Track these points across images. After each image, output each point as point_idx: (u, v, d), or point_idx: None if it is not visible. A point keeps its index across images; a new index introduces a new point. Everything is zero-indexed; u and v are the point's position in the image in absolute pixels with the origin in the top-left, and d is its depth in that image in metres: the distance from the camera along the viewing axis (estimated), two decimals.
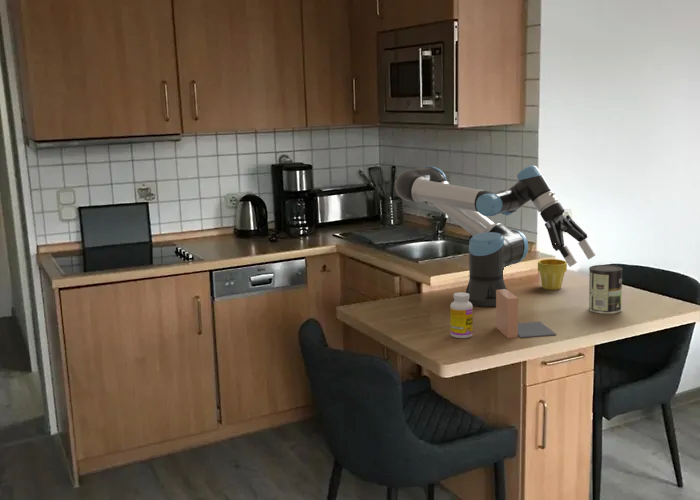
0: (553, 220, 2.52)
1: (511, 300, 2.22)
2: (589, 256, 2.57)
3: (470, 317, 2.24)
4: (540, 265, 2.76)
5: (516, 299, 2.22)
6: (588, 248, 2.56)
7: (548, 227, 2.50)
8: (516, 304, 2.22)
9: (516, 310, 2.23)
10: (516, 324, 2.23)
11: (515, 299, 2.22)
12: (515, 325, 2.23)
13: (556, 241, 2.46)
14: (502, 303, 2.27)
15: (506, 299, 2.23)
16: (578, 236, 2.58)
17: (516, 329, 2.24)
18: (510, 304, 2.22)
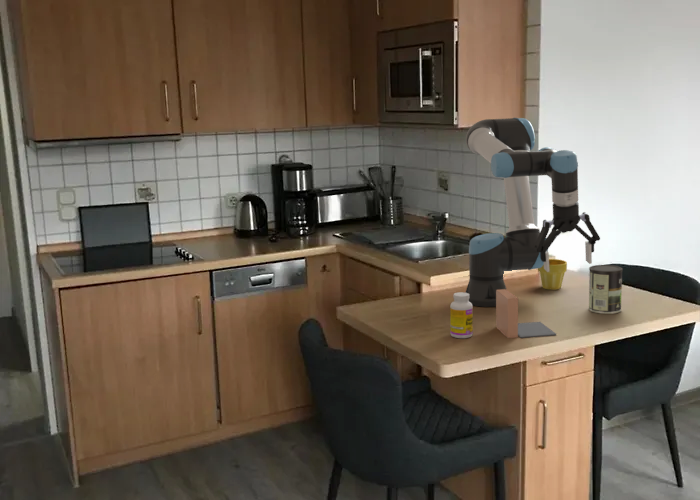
0: (554, 221, 2.29)
1: (511, 300, 2.22)
2: (586, 259, 2.36)
3: (470, 317, 2.24)
4: None
5: (516, 299, 2.22)
6: (588, 254, 2.34)
7: (544, 226, 2.30)
8: (516, 304, 2.22)
9: (516, 310, 2.23)
10: (516, 324, 2.23)
11: (515, 299, 2.22)
12: (515, 325, 2.23)
13: (537, 246, 2.31)
14: (502, 303, 2.27)
15: (506, 299, 2.23)
16: (586, 238, 2.33)
17: (516, 329, 2.24)
18: (510, 304, 2.22)
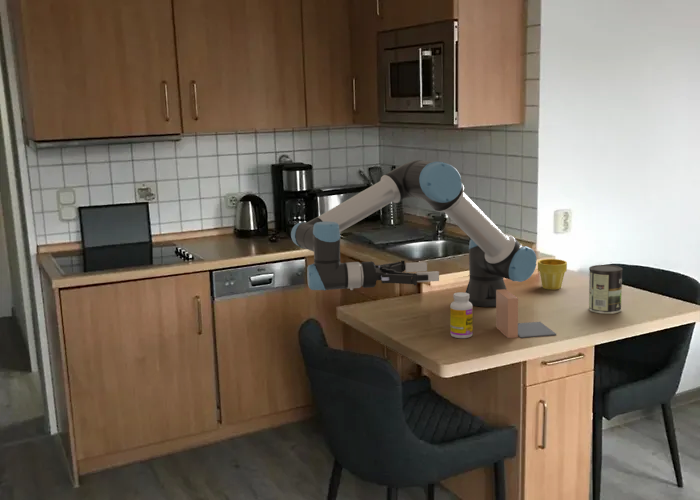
0: None
1: (511, 300, 2.22)
2: None
3: (470, 317, 2.24)
4: (540, 265, 2.76)
5: (516, 299, 2.22)
6: None
7: None
8: (516, 304, 2.22)
9: (516, 310, 2.23)
10: (516, 324, 2.23)
11: (515, 299, 2.22)
12: (515, 325, 2.23)
13: None
14: (502, 303, 2.27)
15: (506, 299, 2.23)
16: None
17: (516, 329, 2.24)
18: (510, 304, 2.22)
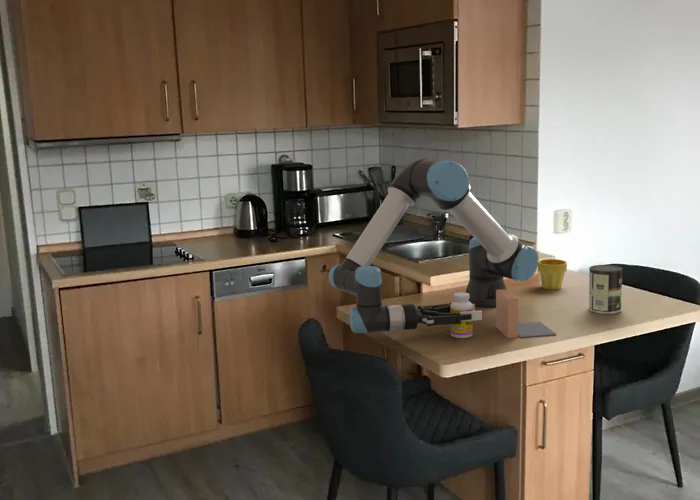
0: None
1: (511, 300, 2.22)
2: None
3: None
4: (540, 265, 2.76)
5: (516, 299, 2.22)
6: None
7: None
8: (516, 304, 2.22)
9: (516, 310, 2.23)
10: (516, 324, 2.23)
11: (515, 299, 2.22)
12: (515, 325, 2.23)
13: None
14: (502, 303, 2.27)
15: (506, 299, 2.23)
16: None
17: (516, 329, 2.24)
18: (510, 304, 2.22)
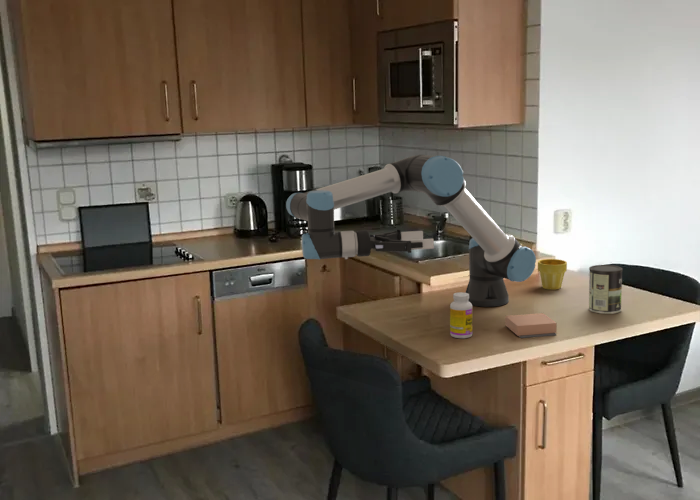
0: None
1: (554, 326, 2.25)
2: None
3: (470, 317, 2.24)
4: (540, 265, 2.76)
5: (555, 331, 2.25)
6: None
7: None
8: (550, 331, 2.25)
9: (544, 332, 2.25)
10: (530, 333, 2.24)
11: (555, 330, 2.25)
12: (529, 332, 2.24)
13: None
14: (541, 319, 2.29)
15: (553, 321, 2.26)
16: None
17: (525, 333, 2.24)
18: (550, 325, 2.25)
